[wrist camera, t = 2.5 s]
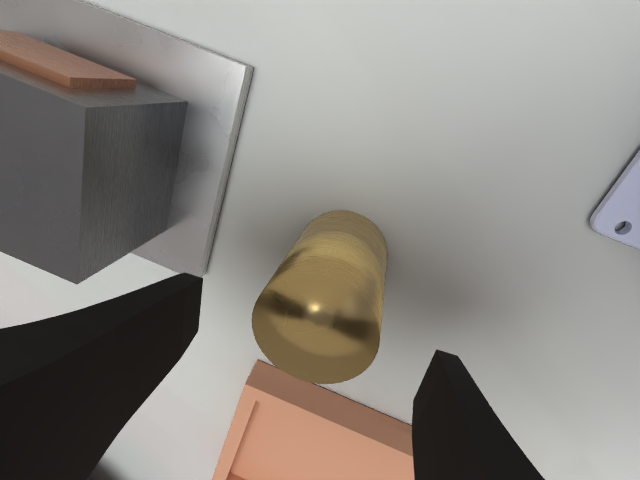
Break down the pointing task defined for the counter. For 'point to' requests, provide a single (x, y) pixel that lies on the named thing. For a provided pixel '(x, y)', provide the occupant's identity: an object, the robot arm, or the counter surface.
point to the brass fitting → (325, 301)
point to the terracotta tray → (310, 435)
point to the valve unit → (111, 139)
